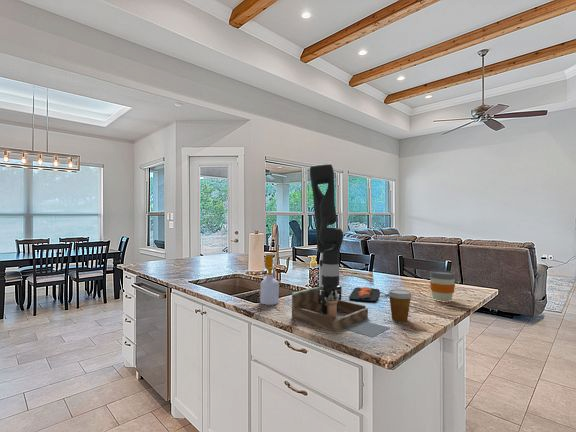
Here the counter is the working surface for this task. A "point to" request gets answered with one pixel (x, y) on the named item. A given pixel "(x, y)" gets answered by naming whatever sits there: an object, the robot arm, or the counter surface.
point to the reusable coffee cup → (442, 284)
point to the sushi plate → (365, 294)
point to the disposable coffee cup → (399, 304)
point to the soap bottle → (269, 284)
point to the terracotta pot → (332, 307)
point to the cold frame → (307, 312)
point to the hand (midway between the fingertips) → (329, 312)
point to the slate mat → (367, 328)
